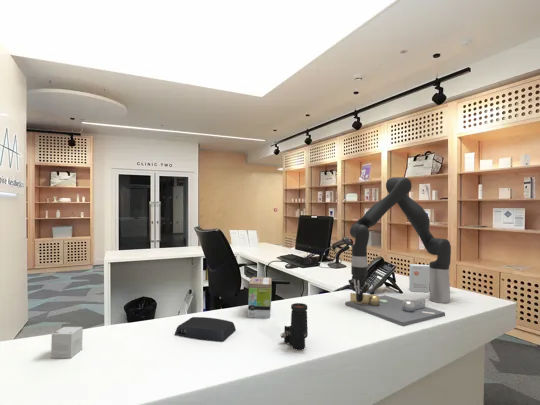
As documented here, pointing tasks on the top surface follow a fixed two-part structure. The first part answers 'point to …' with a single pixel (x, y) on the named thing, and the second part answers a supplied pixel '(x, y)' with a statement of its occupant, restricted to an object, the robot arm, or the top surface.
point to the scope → (297, 327)
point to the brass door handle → (366, 299)
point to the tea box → (259, 297)
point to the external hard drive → (206, 329)
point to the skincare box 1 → (66, 342)
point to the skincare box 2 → (419, 278)
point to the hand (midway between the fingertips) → (359, 301)
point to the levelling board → (396, 311)
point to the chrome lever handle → (413, 304)
